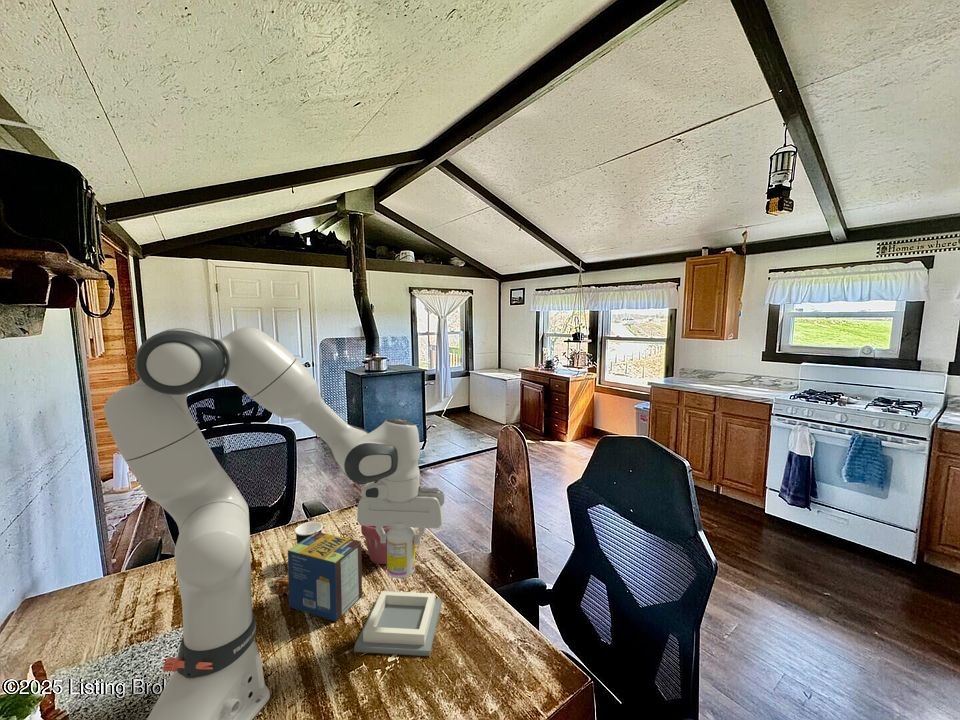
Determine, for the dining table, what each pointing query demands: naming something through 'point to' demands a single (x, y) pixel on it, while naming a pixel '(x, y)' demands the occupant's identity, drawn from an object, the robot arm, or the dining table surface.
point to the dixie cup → (307, 530)
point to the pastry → (280, 585)
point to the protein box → (325, 575)
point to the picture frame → (400, 624)
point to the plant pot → (375, 544)
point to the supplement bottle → (400, 551)
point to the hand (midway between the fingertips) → (400, 542)
